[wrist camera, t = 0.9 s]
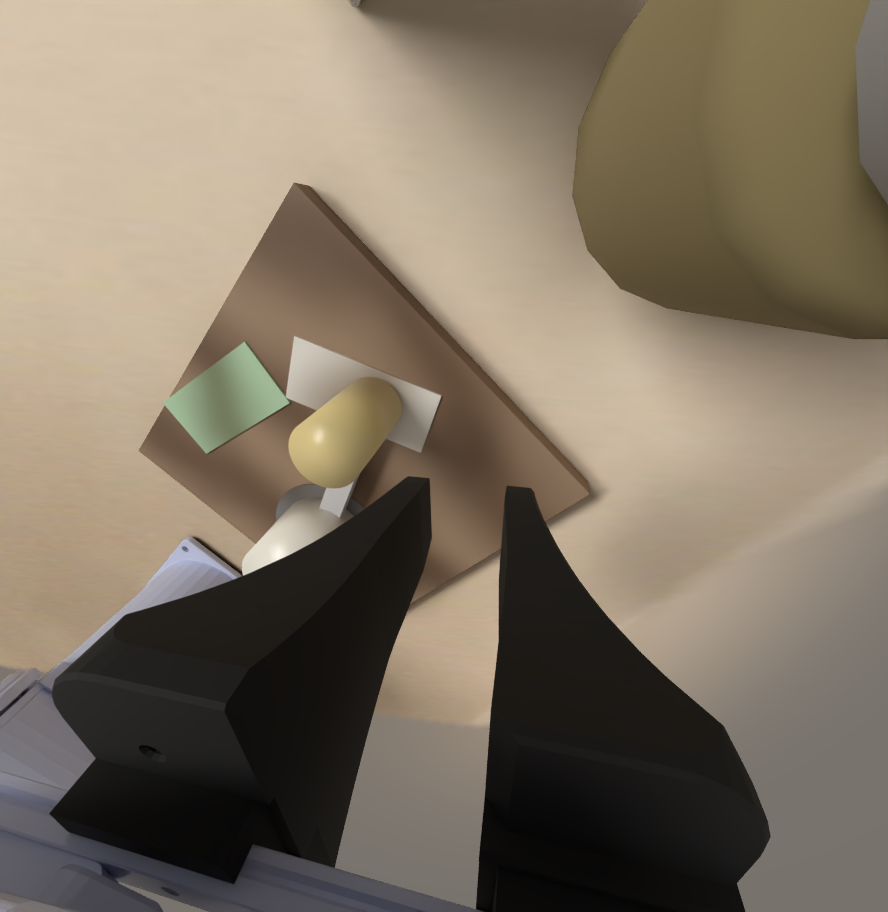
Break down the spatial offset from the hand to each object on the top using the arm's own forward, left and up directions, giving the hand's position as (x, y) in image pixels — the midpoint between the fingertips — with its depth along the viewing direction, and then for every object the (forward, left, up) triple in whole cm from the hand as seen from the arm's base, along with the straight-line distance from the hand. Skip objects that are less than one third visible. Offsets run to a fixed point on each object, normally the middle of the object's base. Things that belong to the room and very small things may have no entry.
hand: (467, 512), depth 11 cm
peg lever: (-9, +2, -8) cm, 12 cm away
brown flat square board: (-9, +3, -9) cm, 13 cm away
